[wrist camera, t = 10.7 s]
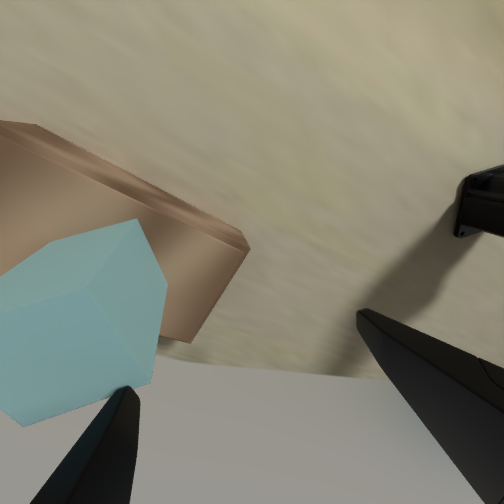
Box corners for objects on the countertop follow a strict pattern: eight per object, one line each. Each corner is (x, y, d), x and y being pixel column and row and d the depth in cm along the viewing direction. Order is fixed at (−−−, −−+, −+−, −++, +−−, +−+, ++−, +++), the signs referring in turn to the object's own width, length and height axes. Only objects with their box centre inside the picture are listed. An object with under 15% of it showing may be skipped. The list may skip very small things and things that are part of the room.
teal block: (136, 218, 13) (85, 287, 7) (168, 284, 15) (150, 383, 9) (50, 241, 12) (-90, 339, 6) (95, 306, 15) (23, 427, 8)
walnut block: (240, 231, 19) (252, 251, 15) (190, 313, 21) (190, 347, 18) (36, 124, 13) (-21, 117, 10) (-3, 252, 16) (-60, 283, 12)
